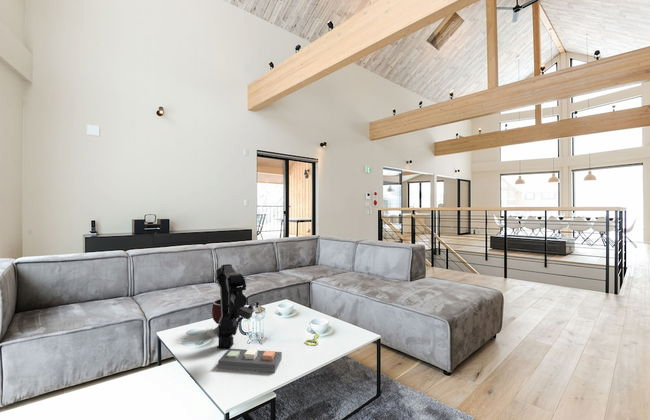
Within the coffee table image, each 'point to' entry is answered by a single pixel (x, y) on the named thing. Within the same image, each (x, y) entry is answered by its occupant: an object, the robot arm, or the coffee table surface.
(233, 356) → the sage keycap
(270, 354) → the terracotta keycap
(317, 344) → the key
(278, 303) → the coffee table surface
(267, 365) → the grey flat rectangular block
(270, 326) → the coffee table surface
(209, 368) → the coffee table surface
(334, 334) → the coffee table surface
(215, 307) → the mate gourd
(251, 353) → the ivory keycap
